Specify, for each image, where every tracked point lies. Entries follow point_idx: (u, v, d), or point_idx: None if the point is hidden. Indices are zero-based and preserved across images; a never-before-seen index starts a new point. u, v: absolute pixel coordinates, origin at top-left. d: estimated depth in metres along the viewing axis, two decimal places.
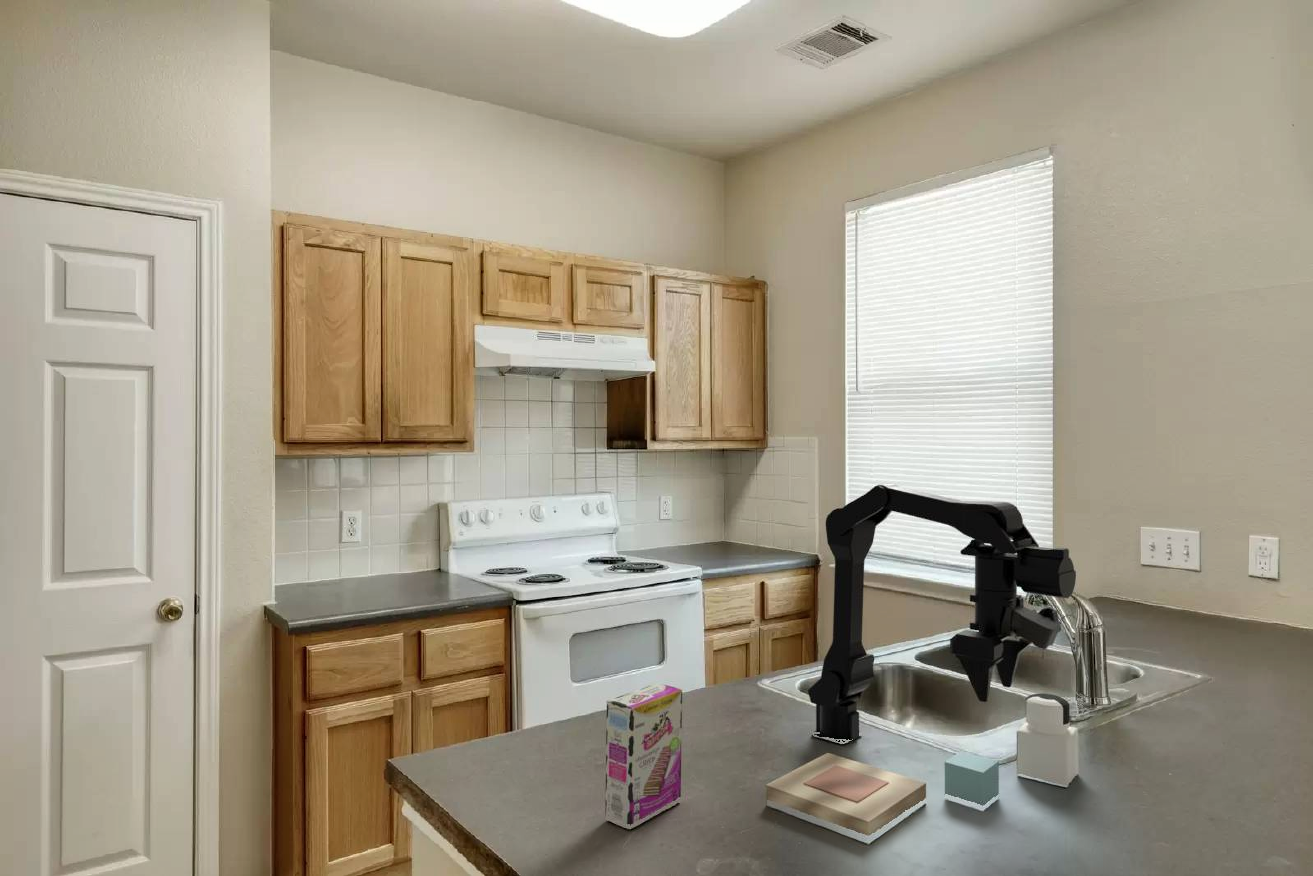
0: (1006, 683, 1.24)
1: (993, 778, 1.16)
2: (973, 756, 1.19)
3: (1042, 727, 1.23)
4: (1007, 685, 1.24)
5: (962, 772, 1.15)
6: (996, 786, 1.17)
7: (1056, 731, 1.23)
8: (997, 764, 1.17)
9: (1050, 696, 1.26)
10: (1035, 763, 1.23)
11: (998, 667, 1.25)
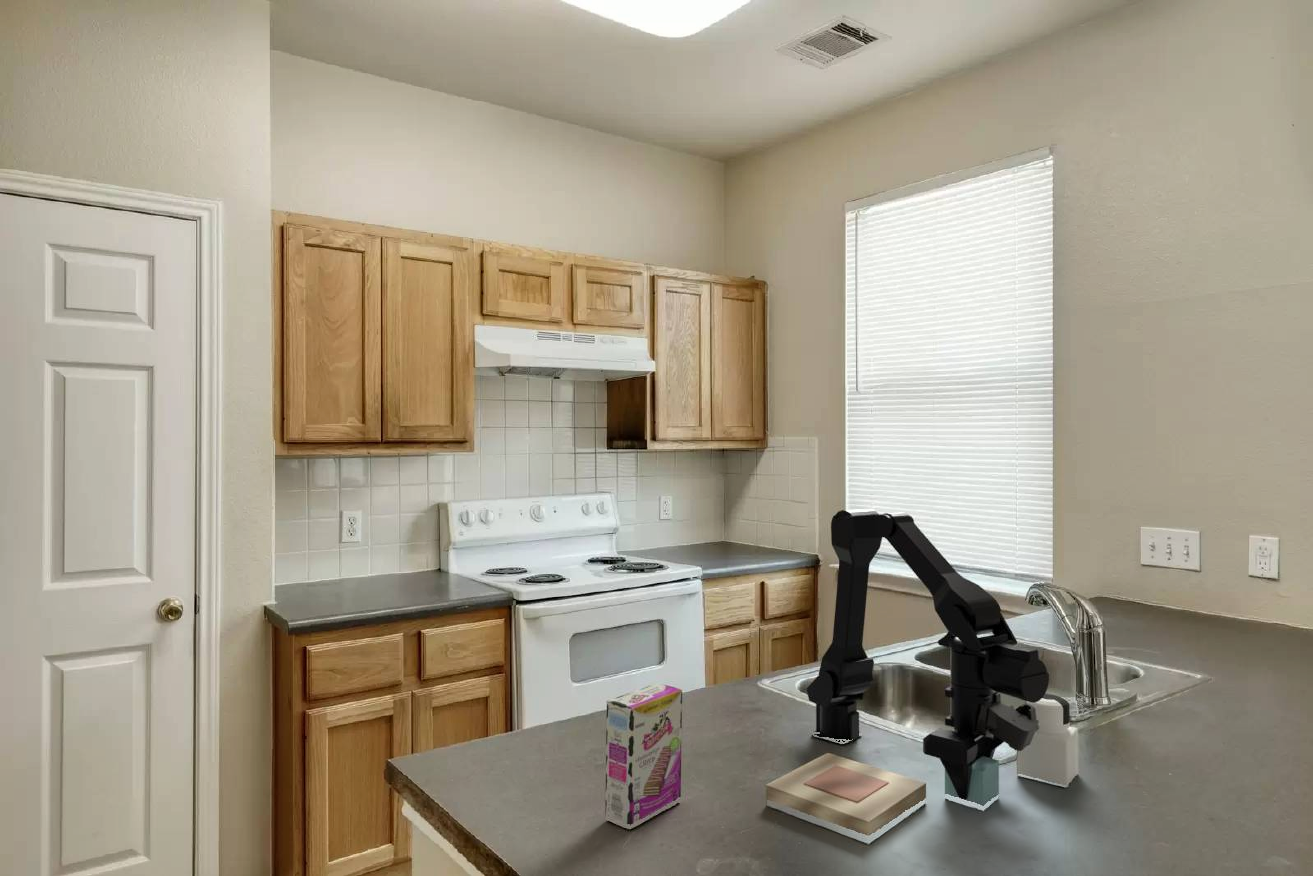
0: None
1: (993, 777, 1.16)
2: None
3: (1042, 727, 1.23)
4: None
5: None
6: (996, 785, 1.17)
7: (1056, 731, 1.23)
8: (997, 763, 1.17)
9: (1050, 696, 1.26)
10: (1035, 763, 1.23)
11: None
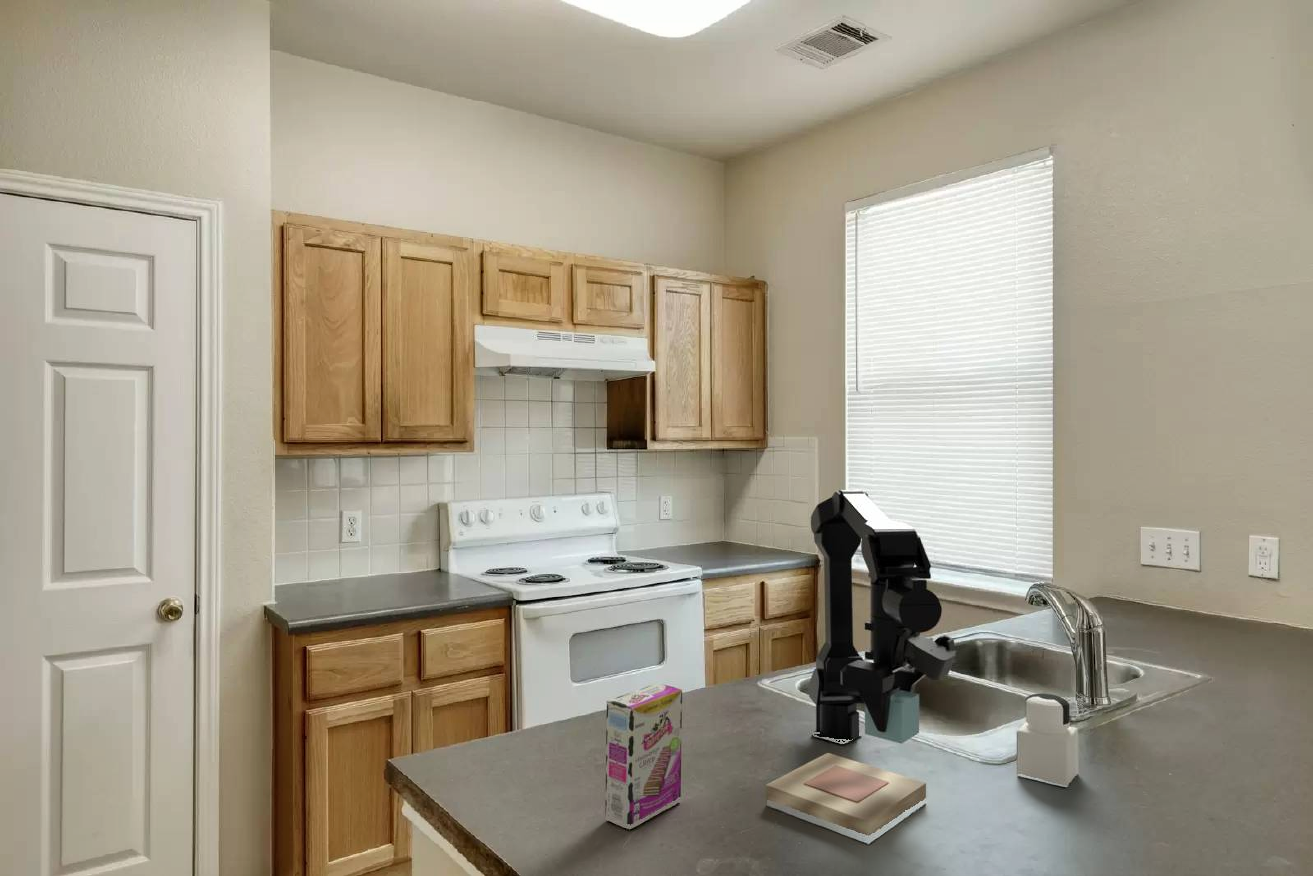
0: None
1: (913, 710, 1.15)
2: None
3: (1042, 727, 1.23)
4: None
5: None
6: (916, 719, 1.16)
7: (1056, 731, 1.23)
8: (917, 697, 1.16)
9: (1050, 696, 1.26)
10: (1035, 763, 1.23)
11: None
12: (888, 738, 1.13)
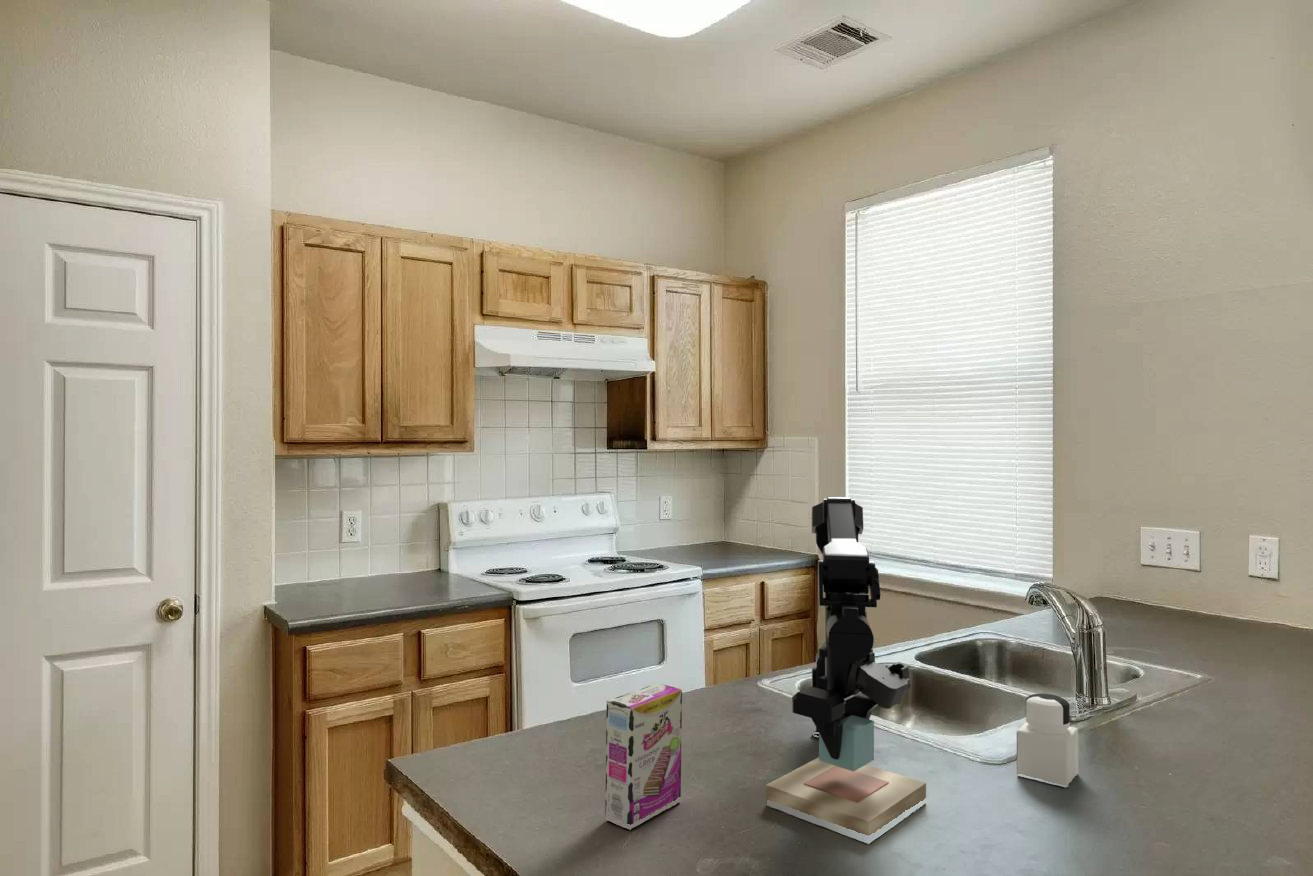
0: None
1: (867, 737, 1.14)
2: None
3: (1042, 727, 1.23)
4: None
5: None
6: (871, 746, 1.15)
7: (1056, 731, 1.23)
8: (872, 724, 1.15)
9: (1050, 696, 1.26)
10: (1035, 763, 1.23)
11: None
12: (841, 765, 1.13)
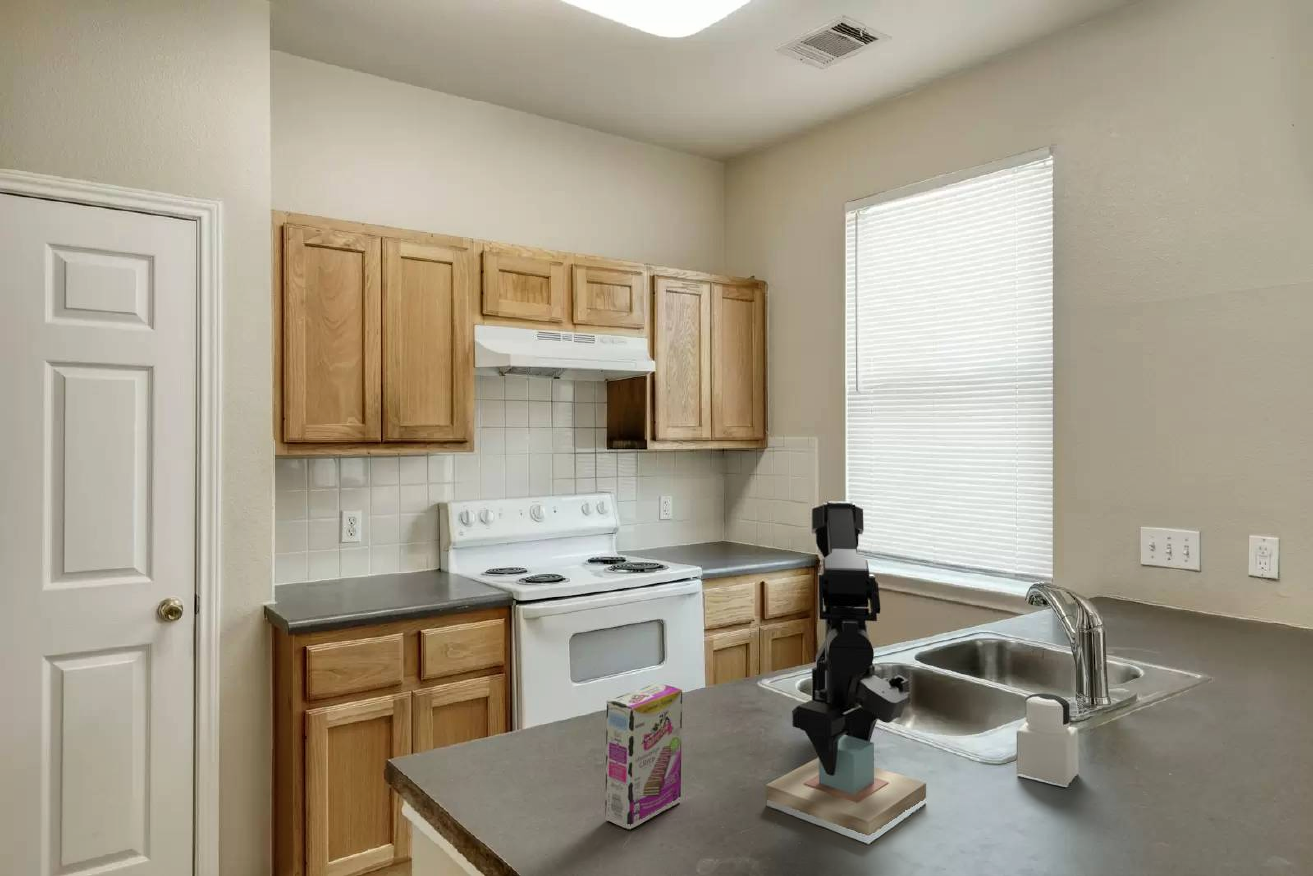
0: None
1: (867, 760, 1.14)
2: (850, 738, 1.17)
3: (1042, 727, 1.23)
4: None
5: None
6: (871, 768, 1.15)
7: (1056, 731, 1.23)
8: (872, 746, 1.15)
9: (1050, 696, 1.26)
10: (1035, 763, 1.23)
11: (853, 736, 1.19)
12: (841, 788, 1.13)
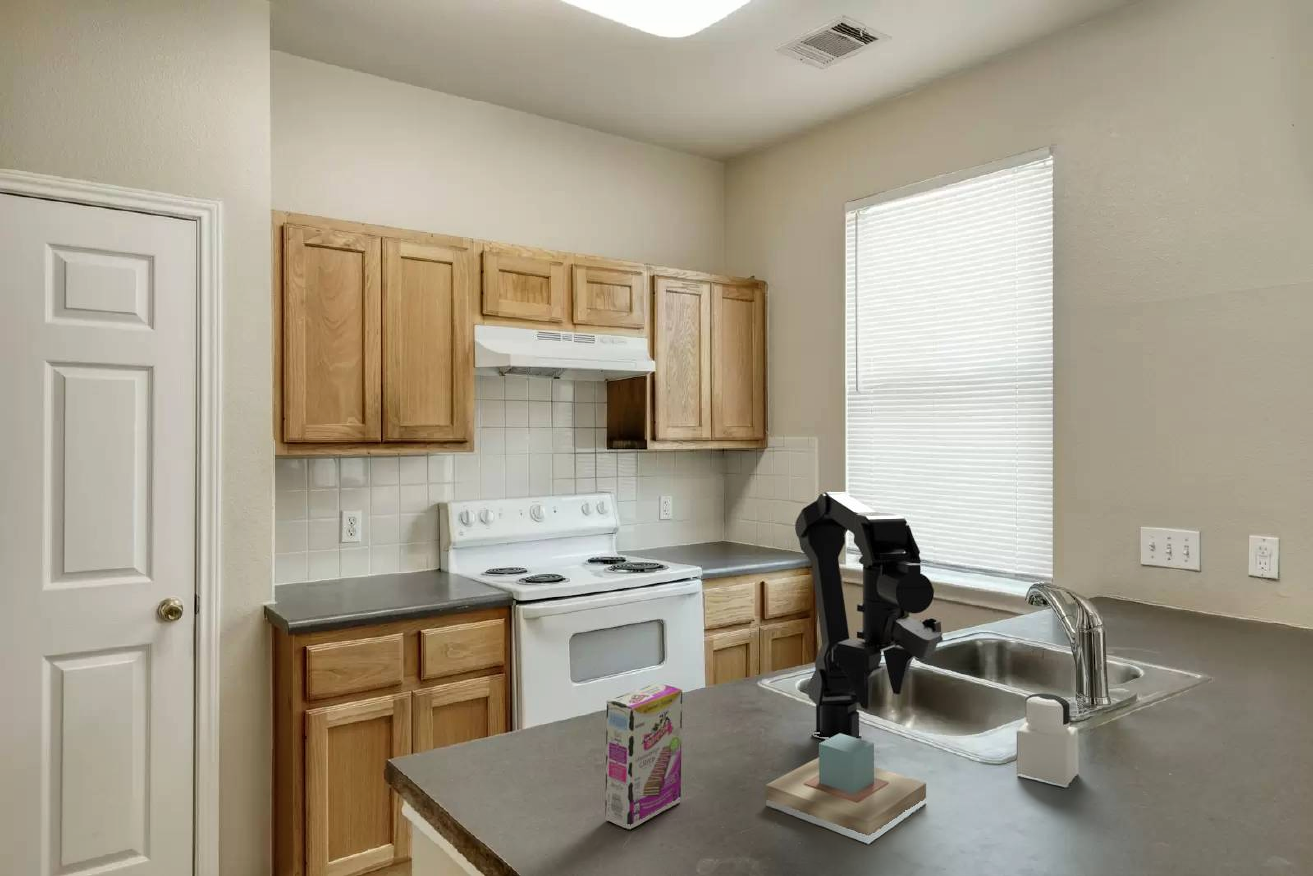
0: (896, 690, 1.28)
1: (867, 760, 1.14)
2: (850, 738, 1.17)
3: (1042, 727, 1.23)
4: (897, 692, 1.28)
5: (834, 753, 1.14)
6: (871, 768, 1.15)
7: (1056, 731, 1.23)
8: (872, 746, 1.15)
9: (1050, 696, 1.26)
10: (1035, 763, 1.23)
11: (889, 674, 1.28)
12: (841, 788, 1.13)
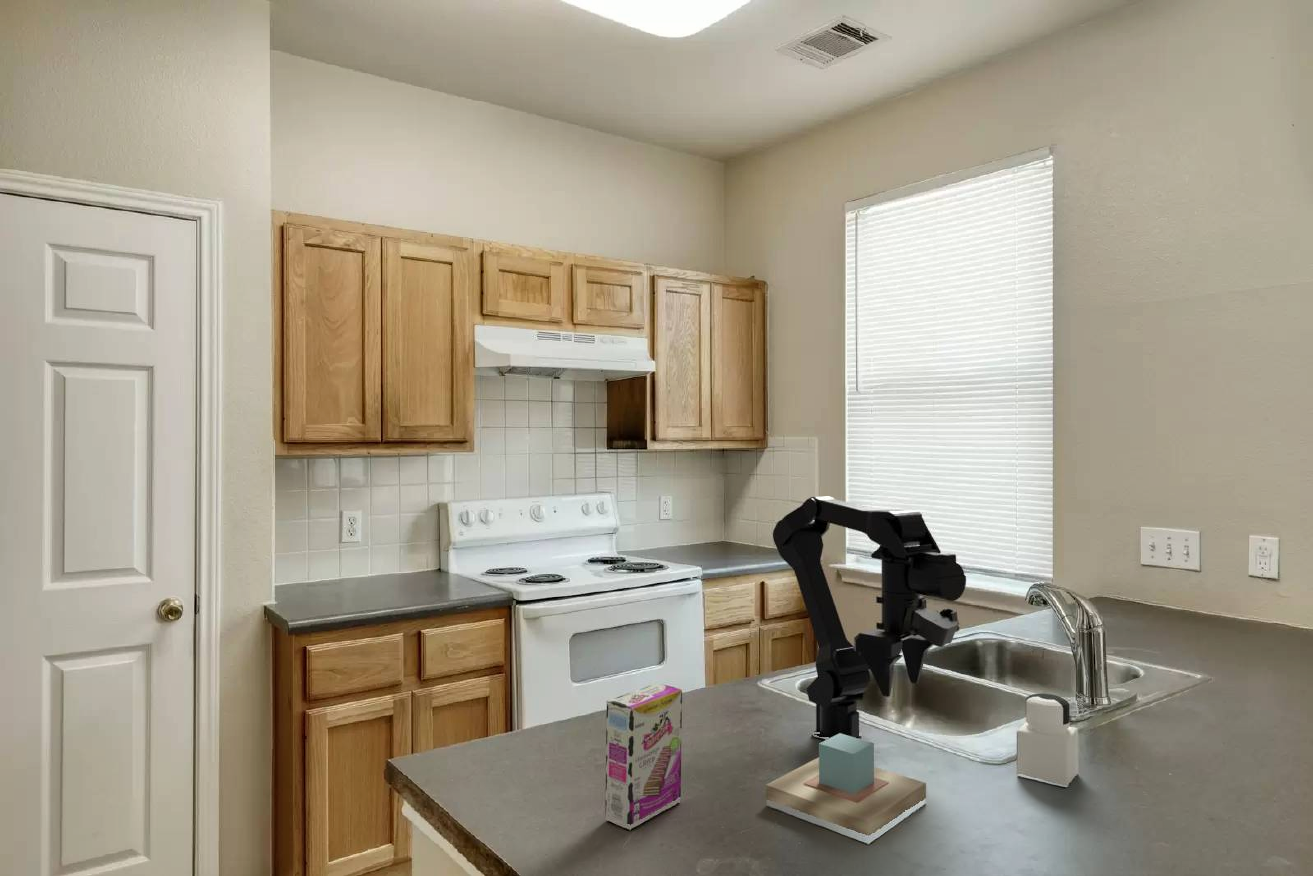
0: (913, 679, 1.32)
1: (867, 760, 1.14)
2: (850, 738, 1.17)
3: (1042, 727, 1.23)
4: (914, 681, 1.32)
5: (834, 753, 1.14)
6: (871, 768, 1.15)
7: (1056, 731, 1.23)
8: (872, 746, 1.15)
9: (1050, 696, 1.26)
10: (1035, 763, 1.23)
11: (906, 664, 1.33)
12: (841, 788, 1.13)
